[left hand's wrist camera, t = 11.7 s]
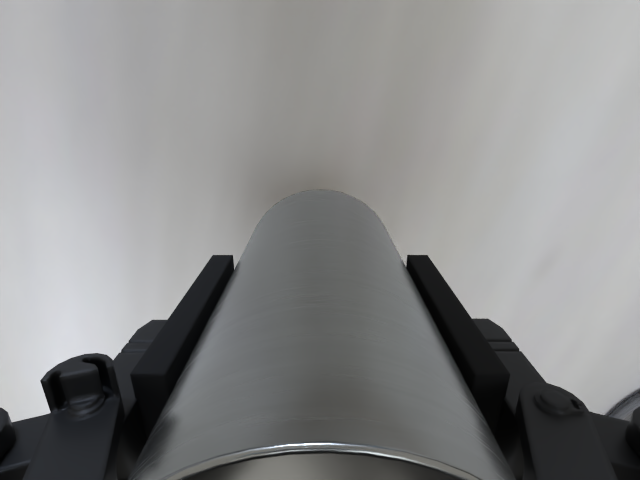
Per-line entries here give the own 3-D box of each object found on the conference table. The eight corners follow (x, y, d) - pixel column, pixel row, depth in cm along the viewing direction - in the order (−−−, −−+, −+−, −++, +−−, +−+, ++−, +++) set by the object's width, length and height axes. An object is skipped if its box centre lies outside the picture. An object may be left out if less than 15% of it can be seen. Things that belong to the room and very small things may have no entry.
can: (267, 170, 16) (101, 390, 4) (412, 212, 16) (663, 512, 4) (236, 301, 18) (69, 700, 6) (365, 333, 19) (447, 751, 7)
